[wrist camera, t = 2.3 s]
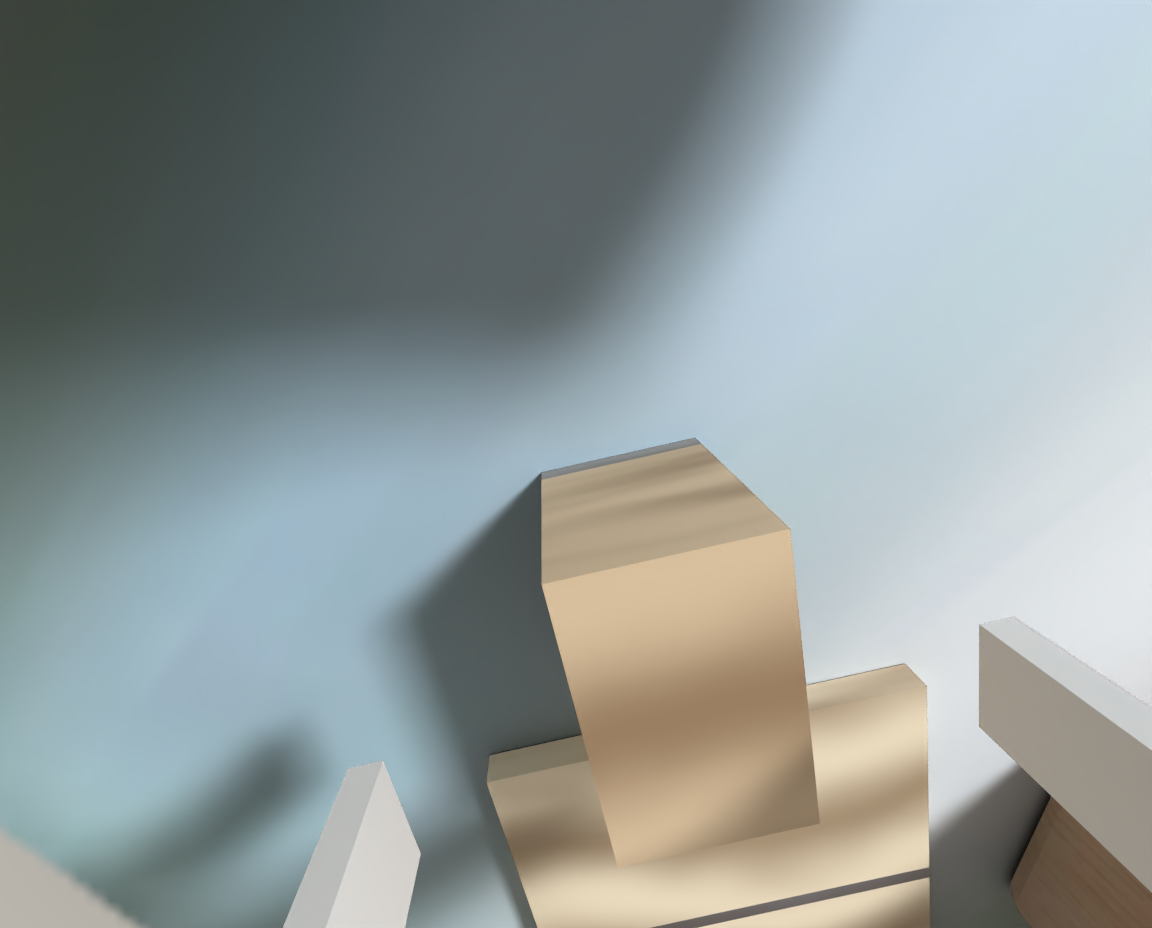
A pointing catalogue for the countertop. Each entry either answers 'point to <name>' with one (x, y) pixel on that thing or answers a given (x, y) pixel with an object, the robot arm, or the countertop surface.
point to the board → (750, 867)
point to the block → (1076, 880)
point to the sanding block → (679, 649)
